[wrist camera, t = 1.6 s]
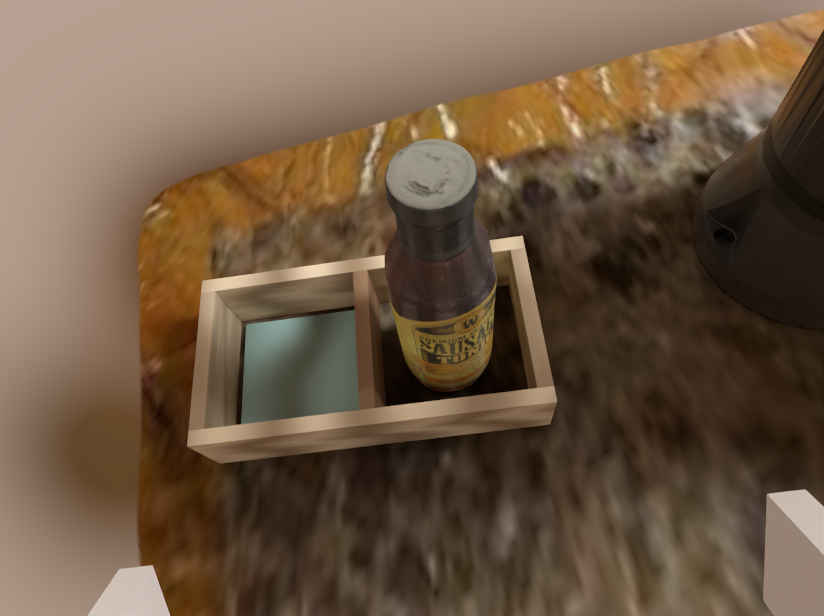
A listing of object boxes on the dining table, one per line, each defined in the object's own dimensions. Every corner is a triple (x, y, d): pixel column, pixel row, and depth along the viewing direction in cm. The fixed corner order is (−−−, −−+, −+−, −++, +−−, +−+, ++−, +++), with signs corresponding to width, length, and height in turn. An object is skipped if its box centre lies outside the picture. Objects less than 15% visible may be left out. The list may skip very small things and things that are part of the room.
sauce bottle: (433, 412, 41) (387, 266, 23) (391, 342, 43) (322, 165, 26) (512, 366, 41) (527, 191, 24) (466, 300, 44) (449, 100, 27)
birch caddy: (519, 272, 45) (522, 235, 40) (550, 424, 39) (557, 401, 35) (230, 311, 46) (202, 281, 42) (220, 463, 41) (186, 446, 36)
